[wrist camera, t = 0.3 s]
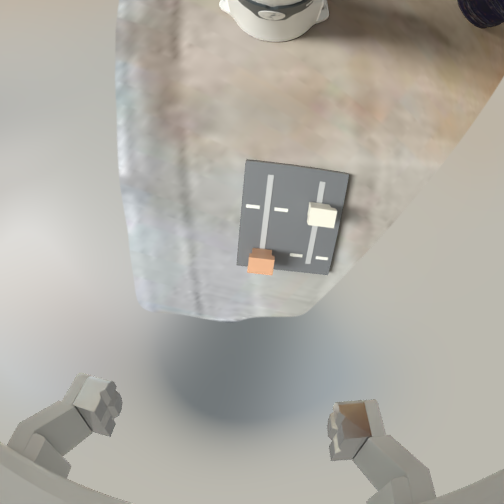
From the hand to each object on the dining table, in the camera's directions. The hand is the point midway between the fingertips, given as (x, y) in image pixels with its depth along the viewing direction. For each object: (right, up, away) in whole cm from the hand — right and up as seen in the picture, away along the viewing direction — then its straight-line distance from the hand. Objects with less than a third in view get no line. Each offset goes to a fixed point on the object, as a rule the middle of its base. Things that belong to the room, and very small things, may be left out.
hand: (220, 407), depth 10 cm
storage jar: (+48, +57, +21) cm, 78 cm away
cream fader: (+13, +13, +42) cm, 46 cm away
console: (+8, +12, +45) cm, 47 cm away
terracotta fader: (+3, +5, +46) cm, 47 cm away
